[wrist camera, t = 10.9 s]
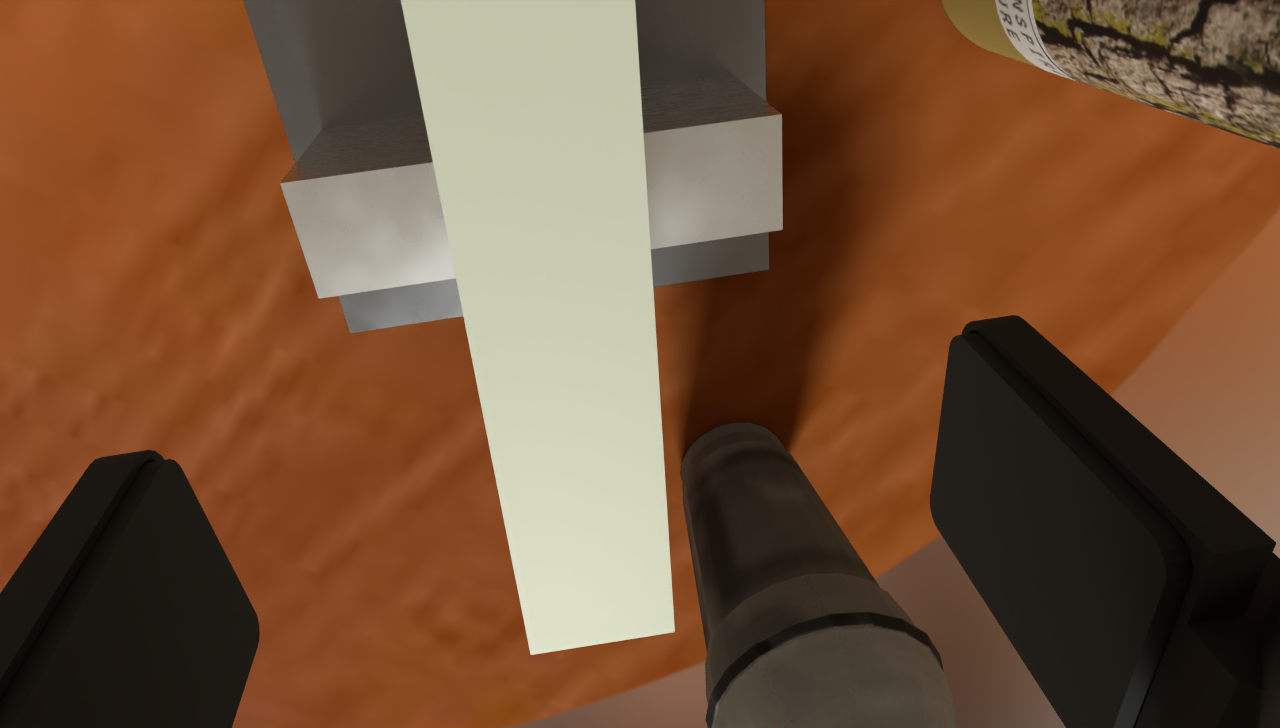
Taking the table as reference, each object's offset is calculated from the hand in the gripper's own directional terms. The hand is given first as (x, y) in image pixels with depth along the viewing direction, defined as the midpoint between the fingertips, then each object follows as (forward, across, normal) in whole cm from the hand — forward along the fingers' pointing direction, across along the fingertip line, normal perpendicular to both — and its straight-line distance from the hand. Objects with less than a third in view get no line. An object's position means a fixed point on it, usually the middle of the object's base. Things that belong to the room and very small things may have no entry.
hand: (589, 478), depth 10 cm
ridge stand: (+18, 0, +1) cm, 18 cm away
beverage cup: (+18, -6, +16) cm, 25 cm away
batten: (+11, 0, +1) cm, 11 cm away
